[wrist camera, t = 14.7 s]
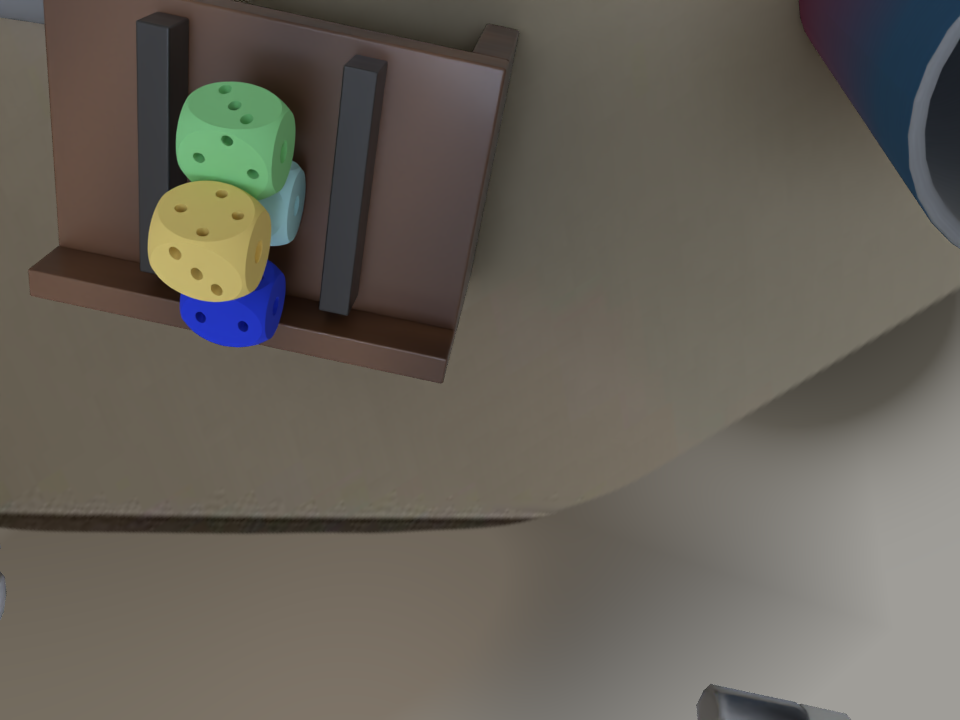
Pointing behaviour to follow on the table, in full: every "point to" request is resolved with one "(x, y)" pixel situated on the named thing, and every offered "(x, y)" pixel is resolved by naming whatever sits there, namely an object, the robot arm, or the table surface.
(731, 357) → the table surface
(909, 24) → the cup
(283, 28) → the laptop stand
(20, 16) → the half round rod
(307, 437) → the table surface
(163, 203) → the dice
